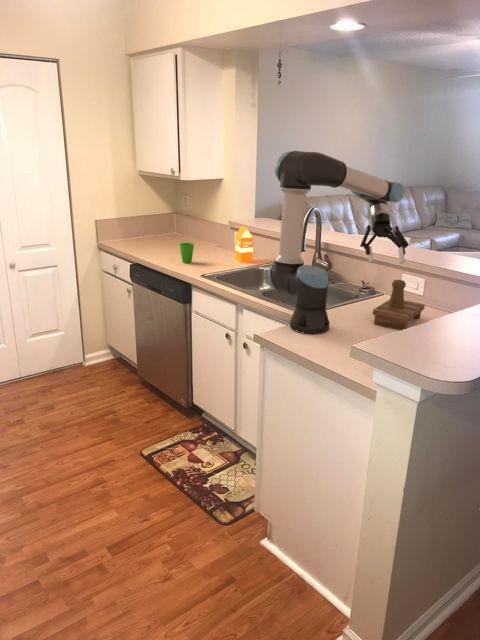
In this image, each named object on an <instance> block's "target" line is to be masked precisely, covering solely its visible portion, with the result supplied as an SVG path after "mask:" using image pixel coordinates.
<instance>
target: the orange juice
mask: <svg viewBox="0 0 480 640" xmlns="http://www.w3.org/2000/svg"><path fill="white" fill-rule="evenodd" d="M250 232H251V231H249V229H248V228H247V227H245V226H243V225H241V227H240V228H239V230H238V231H237V232H236V234H235V261H237V262H239V263H242V264H243V263H252V262H251V261H253V258H254V257H253V256H254V236H253V235H252V234H251V233H250Z"/></svg>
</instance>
